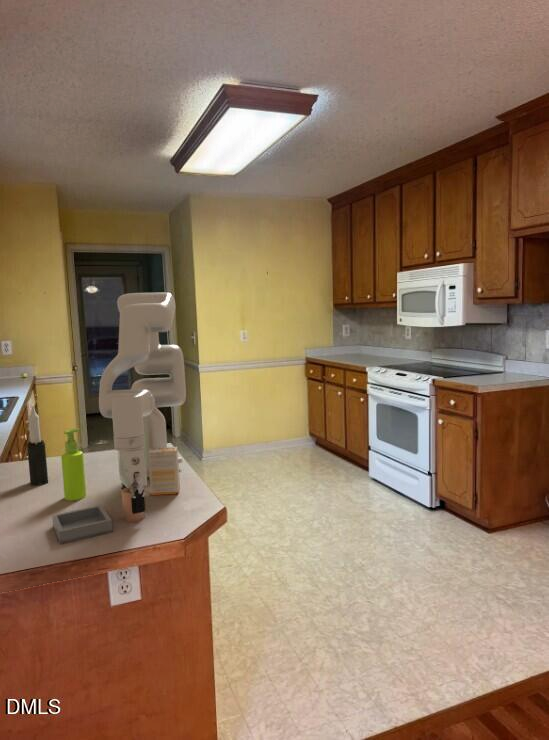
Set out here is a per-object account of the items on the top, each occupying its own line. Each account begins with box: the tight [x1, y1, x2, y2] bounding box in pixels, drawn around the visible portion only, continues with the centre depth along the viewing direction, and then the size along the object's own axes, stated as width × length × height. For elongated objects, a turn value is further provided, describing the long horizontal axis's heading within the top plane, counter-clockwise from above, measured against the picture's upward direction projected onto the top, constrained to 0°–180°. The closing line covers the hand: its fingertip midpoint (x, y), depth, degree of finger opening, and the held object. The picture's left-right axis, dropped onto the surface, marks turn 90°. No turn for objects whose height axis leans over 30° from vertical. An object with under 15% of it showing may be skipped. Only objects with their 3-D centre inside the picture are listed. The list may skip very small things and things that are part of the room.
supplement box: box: [148, 446, 181, 496], centre depth 153 cm, size 8×5×13 cm, turn 94°
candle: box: [26, 405, 49, 486], centre depth 166 cm, size 5×5×25 cm
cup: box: [120, 487, 147, 523], centre depth 135 cm, size 6×6×8 cm
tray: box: [51, 504, 113, 545], centre depth 129 cm, size 12×12×3 cm
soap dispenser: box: [60, 428, 87, 502], centre depth 152 cm, size 6×7×20 cm
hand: (133, 506), depth 135 cm, fingers open, 9 cm apart
